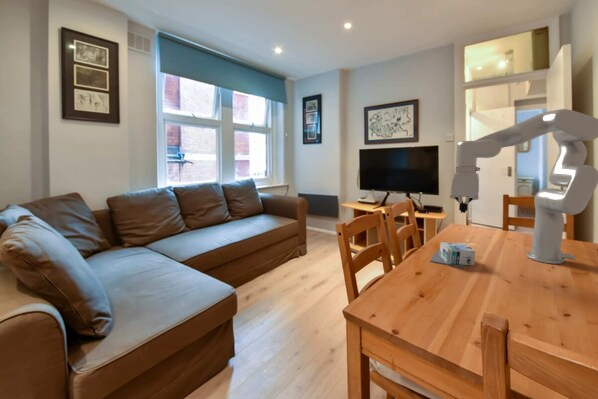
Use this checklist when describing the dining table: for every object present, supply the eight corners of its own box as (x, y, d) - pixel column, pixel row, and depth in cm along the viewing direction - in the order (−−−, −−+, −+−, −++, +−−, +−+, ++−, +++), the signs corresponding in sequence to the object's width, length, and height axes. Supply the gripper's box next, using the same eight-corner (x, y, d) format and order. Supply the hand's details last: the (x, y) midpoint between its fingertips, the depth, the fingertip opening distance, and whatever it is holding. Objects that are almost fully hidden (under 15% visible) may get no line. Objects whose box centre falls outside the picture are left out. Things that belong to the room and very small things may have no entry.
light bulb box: (476, 250, 113) (447, 249, 115) (474, 266, 114) (446, 264, 116) (465, 242, 124) (440, 241, 126) (464, 257, 125) (438, 255, 127)
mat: (468, 254, 129) (468, 253, 129) (463, 268, 113) (463, 267, 113) (438, 249, 137) (438, 248, 137) (429, 261, 121) (429, 260, 121)
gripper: (487, 169, 116) (484, 212, 118) (447, 169, 124) (445, 209, 127) (486, 170, 110) (483, 215, 112) (444, 170, 119) (442, 212, 121)
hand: (463, 212), depth 120 cm, fingers closed
